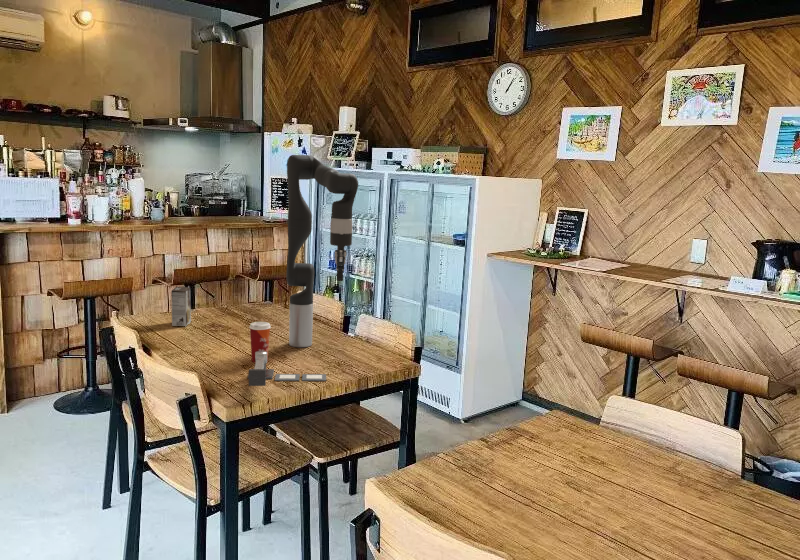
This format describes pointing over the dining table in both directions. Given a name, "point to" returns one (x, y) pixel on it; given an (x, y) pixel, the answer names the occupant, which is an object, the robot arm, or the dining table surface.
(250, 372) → the swing arm
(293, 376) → the label tile
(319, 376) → the label tile
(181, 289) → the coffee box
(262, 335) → the paper cup
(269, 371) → the pivot post
